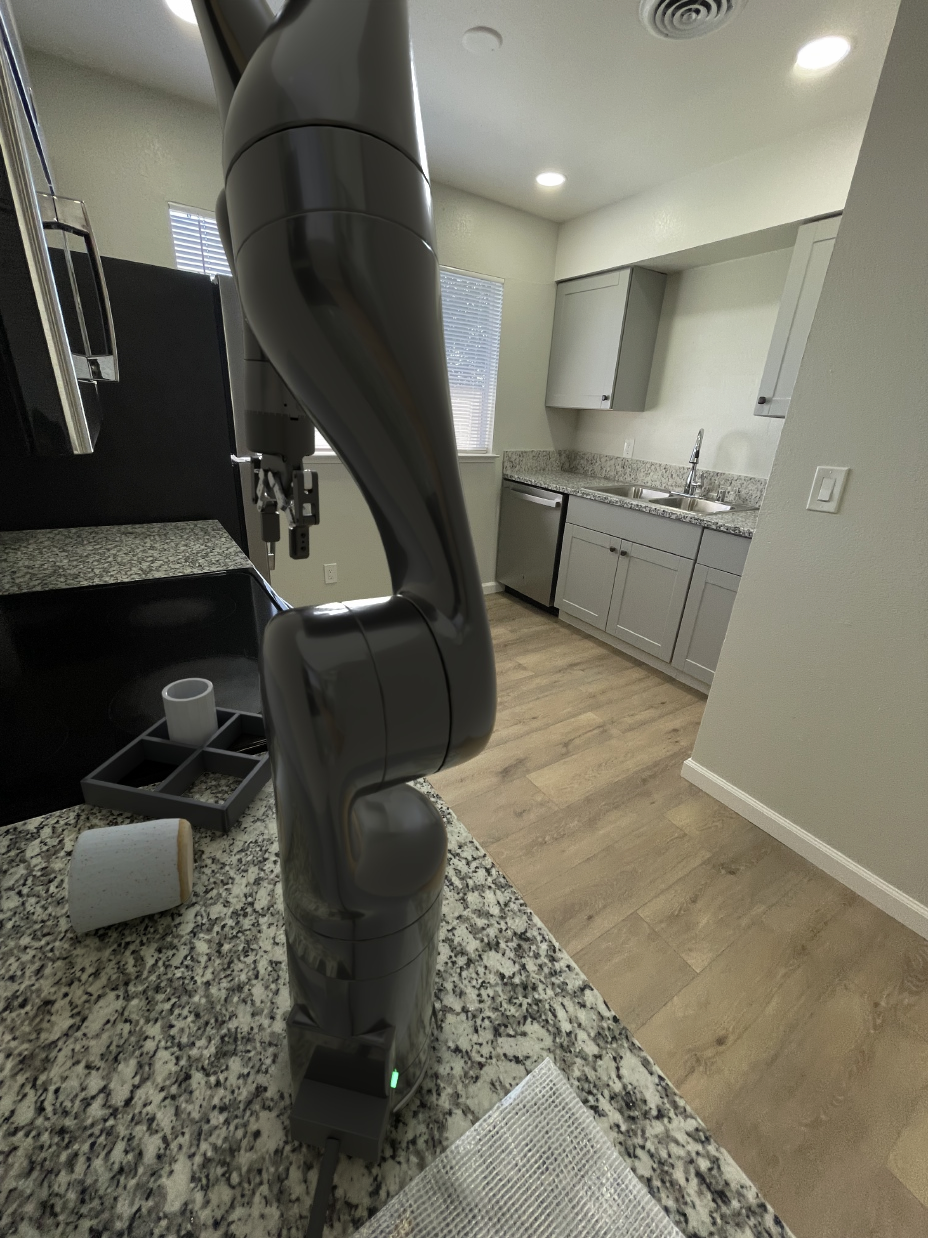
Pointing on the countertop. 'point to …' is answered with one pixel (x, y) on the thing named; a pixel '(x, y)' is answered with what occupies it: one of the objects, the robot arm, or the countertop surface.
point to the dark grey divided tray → (184, 773)
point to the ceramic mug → (129, 872)
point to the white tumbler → (190, 711)
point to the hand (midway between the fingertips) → (284, 549)
